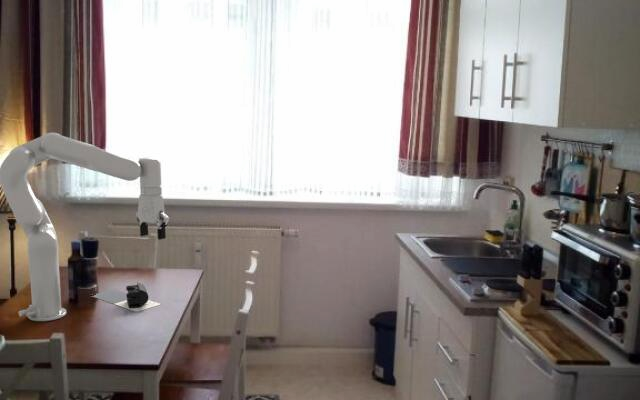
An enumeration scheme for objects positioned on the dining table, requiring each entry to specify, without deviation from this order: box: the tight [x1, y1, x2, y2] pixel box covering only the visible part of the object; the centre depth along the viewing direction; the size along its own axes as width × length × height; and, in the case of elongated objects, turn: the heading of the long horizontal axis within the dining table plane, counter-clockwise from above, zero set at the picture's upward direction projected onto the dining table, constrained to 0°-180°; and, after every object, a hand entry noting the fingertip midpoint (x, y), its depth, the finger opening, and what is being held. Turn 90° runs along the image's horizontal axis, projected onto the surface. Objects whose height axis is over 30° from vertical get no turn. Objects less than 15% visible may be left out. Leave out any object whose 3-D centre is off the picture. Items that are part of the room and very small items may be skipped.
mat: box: [91, 288, 128, 305], centre depth 258 cm, size 11×16×1 cm
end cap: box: [125, 282, 149, 308], centre depth 248 cm, size 10×7×7 cm
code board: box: [114, 299, 162, 313], centre depth 249 cm, size 11×14×1 cm
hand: (152, 237), depth 246 cm, fingers open, 9 cm apart
